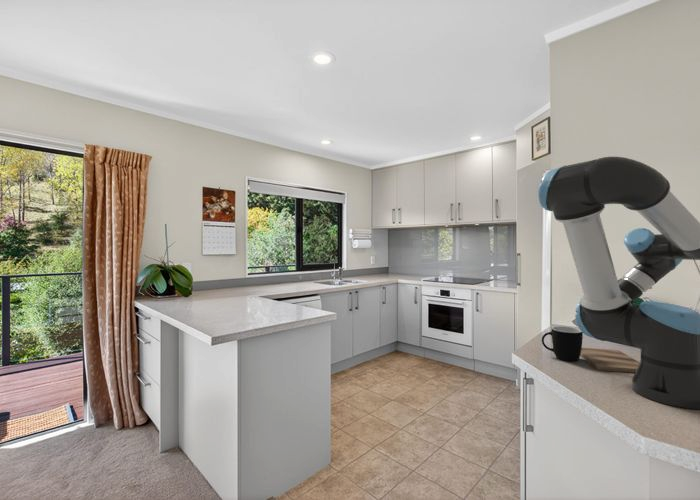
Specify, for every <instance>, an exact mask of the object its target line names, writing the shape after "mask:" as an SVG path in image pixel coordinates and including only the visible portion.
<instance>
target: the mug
mask: <svg viewBox="0 0 700 500" xmlns="http://www.w3.org/2000/svg"><path fill="white" fill-rule="evenodd" d="M583 334H584V333H583V332H582V331H581V330H580V329H579V328H576V327H574V326H573V327H571V326H558V325H555V326H552V327H551V330H550V331H549V332H545V333H544V334H543V335H542V337H541V343H542V345H543V347H544V348H545V349H547V350H548V351H551V352H553V354H554V356H555V357H556V359H558V360H561V361H565V362H573V363H574V362H578V361H579V360H580V357H581V356H580V354H581V349H582V348H583V347H582V346H583V337H584V335H583ZM547 336H551V342H552V348H551V347H549V346H547V345H546V343H545V337H547Z"/></svg>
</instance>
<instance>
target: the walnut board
mask: <svg viewBox="0 0 700 500" xmlns="http://www.w3.org/2000/svg"><path fill="white" fill-rule="evenodd" d="M580 357H581V358H583V360H585V361H586V362H588V363H589V364H590V365H591V366H593V367H594V368H595V369H596V370H597V371H606V372H607V371H609V372H620V373H621V372H622V373H632V374H633V373H634V374H635V372H636V370H637V368H638V365H639V363H640V361H638V360H636V359H634V358H633V357H631V356H629V355H628V354H626V353H624V352H623V351H621V350H619V349H609V348H608V349H607V348H592V347H590V348H589V347H582V349H581V354H580Z"/></svg>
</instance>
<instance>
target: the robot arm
mask: <svg viewBox="0 0 700 500" xmlns="http://www.w3.org/2000/svg"><path fill="white" fill-rule="evenodd" d="M539 183H540V184H539V186H538V191H537V192H538V195H537V196H538V201H539V204H540V206H541V207H542V208H543V209H544V210H545V211H547V212H552V213H553V216H554V219H555V221H558V222H559V223H562V225H563V228H564V231H565V234H566V237H567V241H568V244H569V249H570V251H571V254H572V258H573V261H574V265H575V269H576V271H577V275H578V279H579V282H580V286H581V289H582V292H583V295H582V297H581V298H580V300H579V302H578V303H577V305H576V306H575V312H576V313H575V314H574V317H573V319H571V320H570V322H571V323H573V324H574V325H575V326H576V327H578V329H580V330H581V331H582V332H583V334H584V335H585V336H586V337H589V338H592V339H595V340H599V341H601V342H608V343H613V344H614V343H615V344H617V345H622V346H625V347H626V346H627V347H632V348H636V349H639V350H640V360H639V365H638V368H637V370H636V372H635V373H634V374H633V377H632V379H631V388H632V390H633V391H634V392H635V393H636V394H638V395H641V396H643V397H645V398H647V399H649V400H651V401H654V402H658V403H661V404H664V405H668V406H673V407H678V408H683V409H692V410H700V313H699V312H697V311H696V310H694V309H692V308H688V307H686V306H681V305H678V304H673V303H670V302H669V303H668V302H661V301H660V302H658V301H654V300H653V301H652V300H651V301H650V300H649V301H647V300H646V301H642V302H641V303H640V304H639V305H637V304H633V303H634V302H635V301H637V299H640V297H641V296H643V294H644V293H646V292H647V291H648V290H652V289H653V286H655V285H656V284H657V283H658V282H659V281H660V280H661V279H663V278H664V277H665V276H667V275H668V274H670V272H672V271H673V270H675V269H676V268H677V267H678V265H680V263H682V261H683V260H684V261H685V260H686V261H687V260H689V261H690V260H691V261H700V221H699V220H698V219H697V218H696V217H695V216H694V215H693V214H692V212H690V211H689V210H688V208H687V207H686V206H685V205H684V204H683V203H682V202H681V201H680V200H679V199H678V198H677V197H676V195H674V194H673V192H672V191H671V184H670V181H669V180H668V179H667V178H666V177H665V176H664V174H662V173H661V172H660V171H658V170H657V169H655V168H654V167H652V166H650V165H647V164H646V163H644V162H641V161H639V160H636V159H632V158H629V157H623V156H622V157H621V156H605V157H599V158H597V159H596V158H595V159H592V160H587V161H586V160H585V161H583V162H578V163H573V164H568V165H563V166H560V167H557V168H553V169H551V170H549V171H547V172H546V173H545V174H544V175H543V177H542V178H541V180H540V182H539ZM606 205H622V206H623V207H625V209H627V210H631V211H634V212H635V211H636V212H637V213H638V214H640V215H641V216H642V217H643V218H644V219H645V220H646V221H647V222H648V223H649V224H650V225H651V226H653V227H654V228H655V229H656V230H657V231H658V233H660V234H658V233H657V234H655V233H654V232H653V231H651V230H650V229H648V228H645V227H644V228H643V227H639V228H635V229H633V230H631V231H629V232H627V233H626V234H625V235H624V239H623V243H624V245H625V246H626V249H627V251H628V252H629V253H630V254H631V255H632V257H633V258H634V259H635V260H636V261H637V264H636V265H634V266H633V267H632V268H630V269H629V270H628V271H627V272H625V273H624V275H622V278H619V279H618V277H617V274H616V270H615V266H614V262H613V258H612V256H611V252H610V247H609V245H608V240H607V237H606V233H605V229H604V225H603V223H602V219H601V213H602V212H603V211H604V210H605V208H606Z"/></svg>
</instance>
